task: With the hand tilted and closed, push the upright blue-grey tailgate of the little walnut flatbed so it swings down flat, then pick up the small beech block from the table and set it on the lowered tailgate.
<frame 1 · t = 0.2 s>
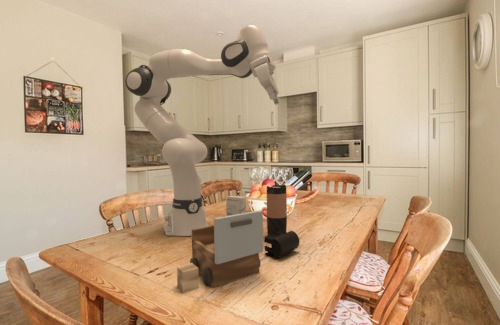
hand: (275, 101, 101), 52 cm above the table, tool tilted 20°, fingers open, 8 cm apart
travel mug: (276, 238, 104), on the table
ink box: (236, 221, 130), on the table
flatbed: (225, 270, 76), on the table
beech block: (188, 287, 67), on the table
tailgate: (240, 236, 69), point 12 cm above the table, hinge at 0.0°
end cap: (281, 254, 88), on the table
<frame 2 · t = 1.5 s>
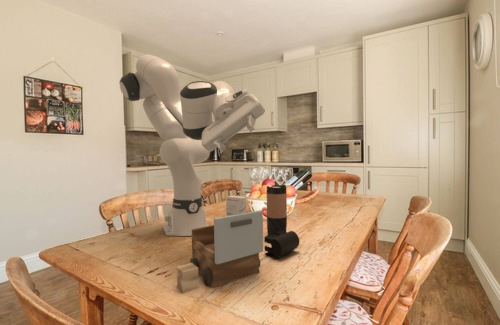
hand: (236, 139, 71), 37 cm above the table, tool tilted 55°, fingers open, 8 cm apart
nothing on the table moved.
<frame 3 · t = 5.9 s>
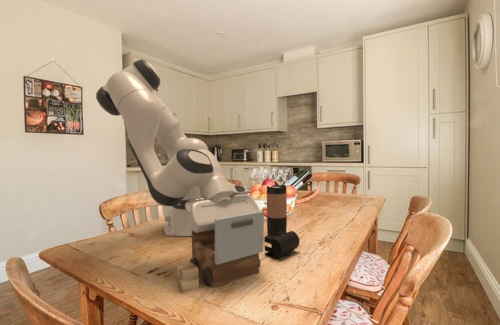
hand: (236, 239, 70), 11 cm above the table, tool tilted 45°, fingers closed, pressing on tailgate
tailgate: (241, 236, 69), point 12 cm above the table, hinge at 2.8°, touching gripper
everything else where it was.
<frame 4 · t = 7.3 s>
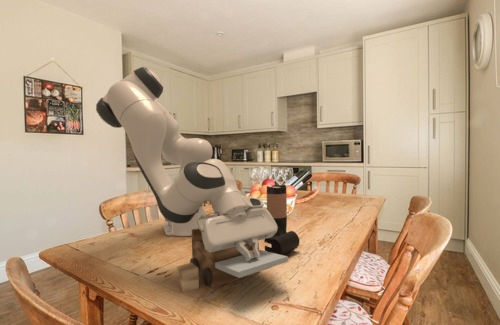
hand: (253, 258, 64), 8 cm above the table, tool tilted 45°, fingers closed
tailgate: (251, 263, 65), point 6 cm above the table, hinge at 81.1°
everything else where it was.
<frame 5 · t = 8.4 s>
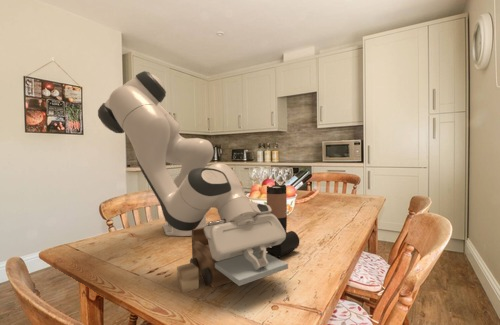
hand: (262, 267, 62), 7 cm above the table, tool tilted 45°, fingers closed, pressing on tailgate
tailgate: (251, 266, 65), point 6 cm above the table, hinge at 90.1°, touching gripper
everything else where it was.
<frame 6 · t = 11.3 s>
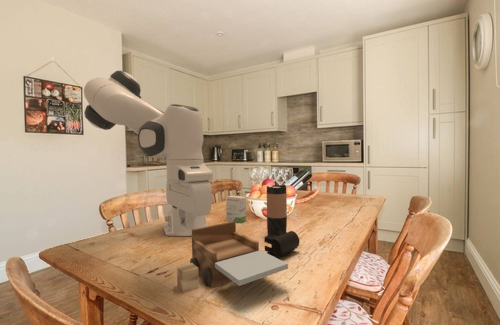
hand: (186, 227, 67), 15 cm above the table, tool pointing down, fingers closed
tailgate: (251, 266, 65), point 6 cm above the table, hinge at 90.1°
everything else where it was.
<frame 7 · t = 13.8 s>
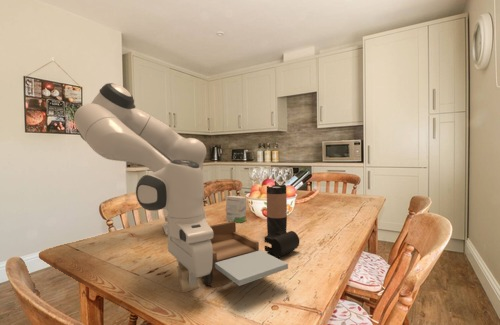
hand: (187, 280, 67), 2 cm above the table, tool pointing down, fingers closed on beech block, 4 cm apart
beech block: (188, 286, 67), on the table, touching gripper
everything else where it was.
when the fingers open (11 cm above the table, at t = 18.2 s): beech block drops 2 cm, resting on tailgate.
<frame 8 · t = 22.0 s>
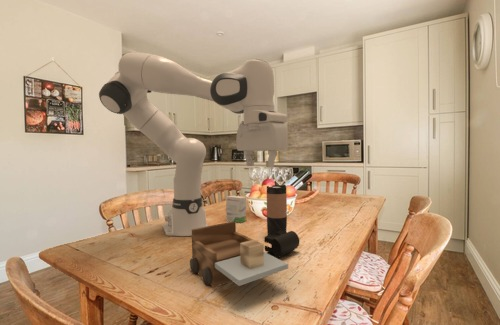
hand: (259, 166, 78), 29 cm above the table, tool pointing down, fingers open, 8 cm apart
beech block: (252, 264, 65), point 6 cm above the table, touching tailgate
tailgate: (251, 266, 65), point 6 cm above the table, hinge at 90.2°, touching beech block
everything else where it was.
at the end: tailgate at +90° (first picture: +0°); beech block inside the target area (0.1 cm from its centre), point 6.5 cm above the table; the gripper is holding nothing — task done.
